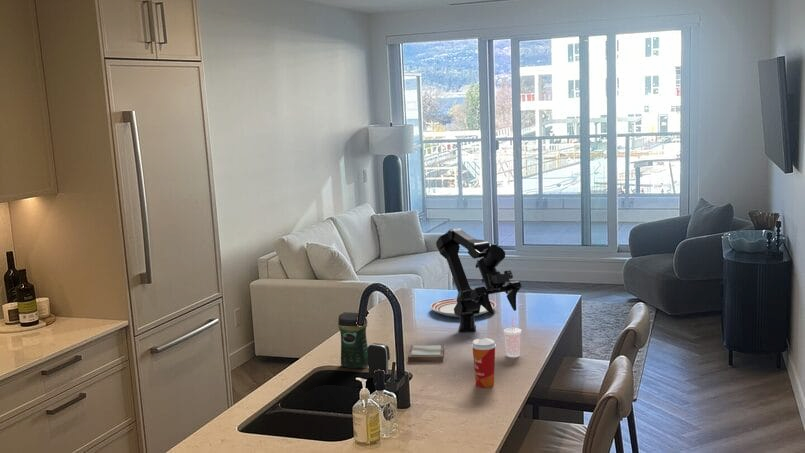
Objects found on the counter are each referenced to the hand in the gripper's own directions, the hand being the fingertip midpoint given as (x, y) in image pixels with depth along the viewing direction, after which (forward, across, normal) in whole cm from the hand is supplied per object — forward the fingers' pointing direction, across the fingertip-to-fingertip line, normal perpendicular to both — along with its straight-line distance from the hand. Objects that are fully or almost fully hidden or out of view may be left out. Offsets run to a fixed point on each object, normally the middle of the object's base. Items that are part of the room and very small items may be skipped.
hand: (504, 312), depth 275 cm
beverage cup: (+15, -1, +3) cm, 15 cm away
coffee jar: (+3, -52, +19) cm, 55 cm away
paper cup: (+26, -24, -12) cm, 37 cm away
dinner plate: (-19, +11, +48) cm, 52 cm away
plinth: (+6, -27, +14) cm, 31 cm away
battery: (+12, -50, +7) cm, 51 cm away
